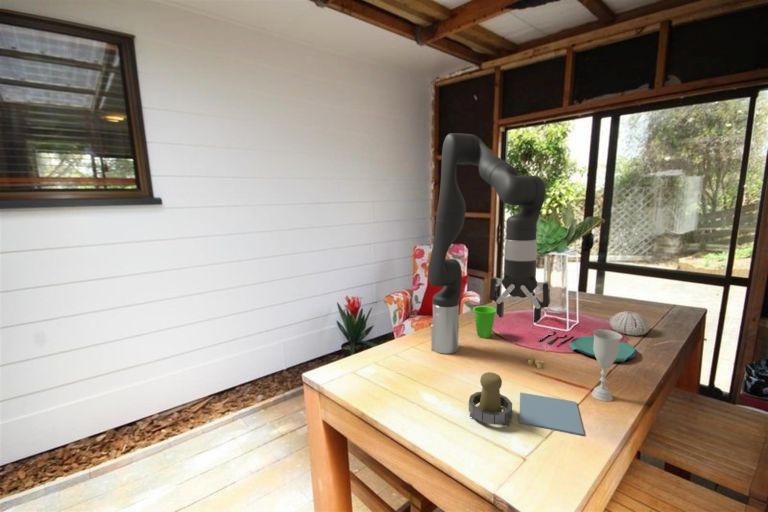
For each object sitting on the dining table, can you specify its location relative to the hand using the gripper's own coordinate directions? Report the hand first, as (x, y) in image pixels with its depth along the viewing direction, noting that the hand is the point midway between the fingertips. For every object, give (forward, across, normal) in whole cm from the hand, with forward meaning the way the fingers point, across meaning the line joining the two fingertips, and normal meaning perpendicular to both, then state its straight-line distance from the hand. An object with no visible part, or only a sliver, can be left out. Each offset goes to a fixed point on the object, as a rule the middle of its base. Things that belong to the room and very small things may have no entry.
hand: (518, 319), depth 92 cm
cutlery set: (+24, +15, +50) cm, 58 cm away
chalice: (+24, +20, +16) cm, 35 cm away
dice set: (+24, +1, +28) cm, 37 cm away
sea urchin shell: (+24, +28, +75) cm, 84 cm away
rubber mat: (+24, +8, 0) cm, 25 cm away
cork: (+24, -4, -8) cm, 26 cm away
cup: (+24, -21, +43) cm, 53 cm away
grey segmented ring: (+24, -4, -8) cm, 25 cm away
